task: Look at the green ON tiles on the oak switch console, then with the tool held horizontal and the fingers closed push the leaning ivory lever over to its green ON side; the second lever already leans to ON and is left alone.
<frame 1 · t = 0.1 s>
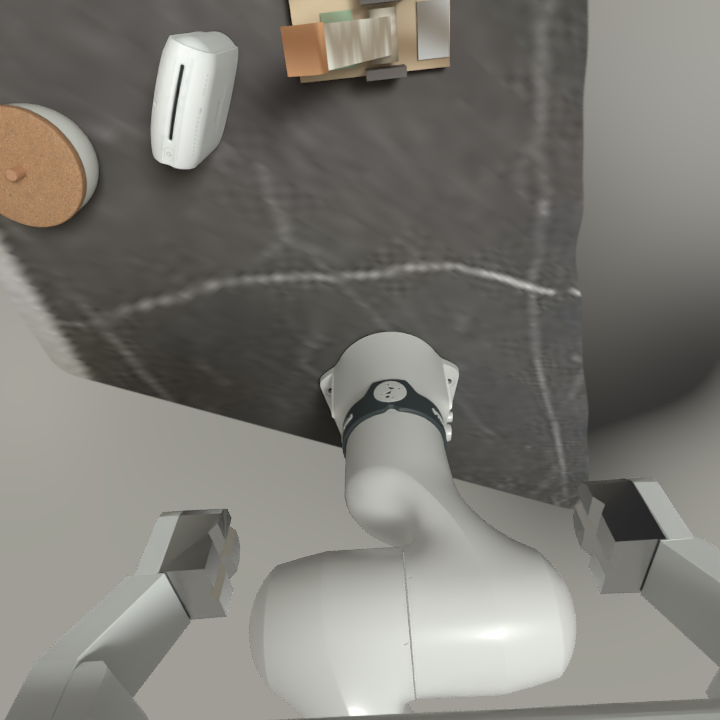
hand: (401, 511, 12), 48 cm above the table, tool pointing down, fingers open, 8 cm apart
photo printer: (212, 91, 50), on the table
lidded jar: (63, 152, 53), on the table
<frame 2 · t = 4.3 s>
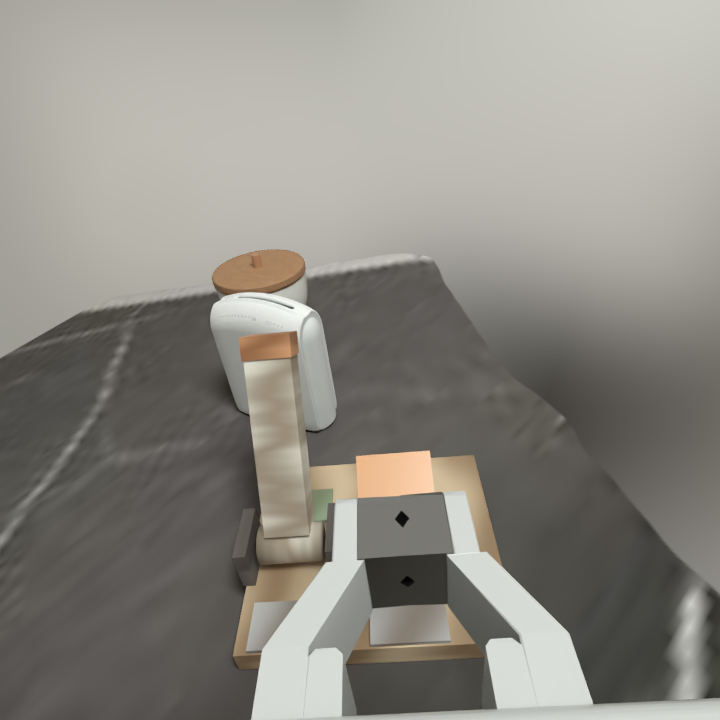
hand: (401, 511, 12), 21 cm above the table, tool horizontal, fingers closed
lever: (399, 518, 26), point 9 cm above the table, hinge at -28.0°
console: (374, 554, 34), on the table
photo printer: (287, 413, 48), on the table
lidded jar: (272, 326, 62), on the table
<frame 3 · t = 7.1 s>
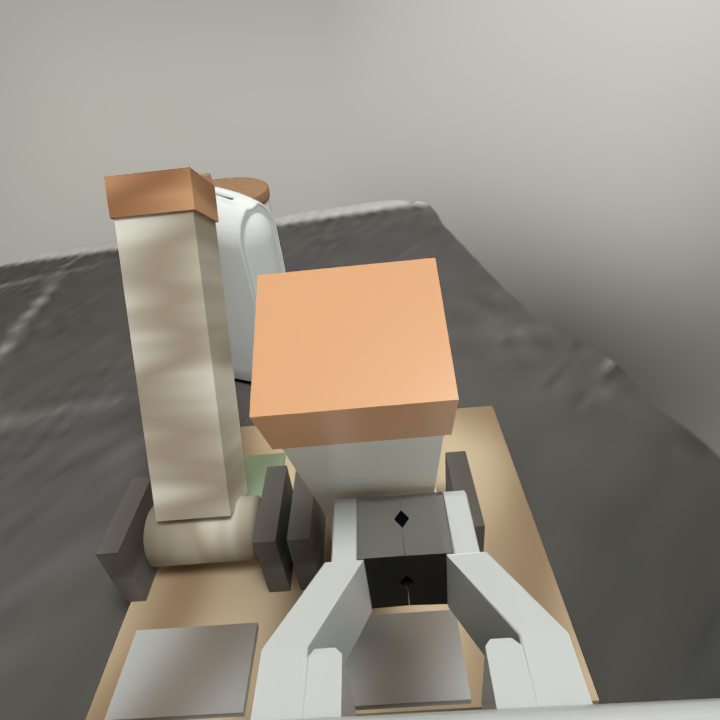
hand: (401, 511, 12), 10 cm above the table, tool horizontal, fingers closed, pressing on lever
lever: (376, 470, 14), point 9 cm above the table, hinge at -26.9°, touching gripper
console: (344, 549, 22), on the table
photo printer: (237, 365, 36), on the table
lidded jar: (230, 273, 50), on the table
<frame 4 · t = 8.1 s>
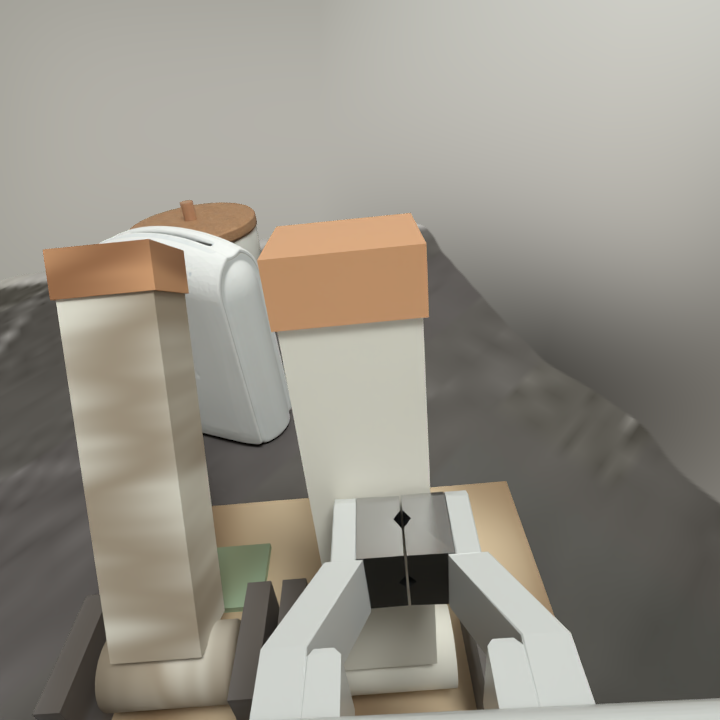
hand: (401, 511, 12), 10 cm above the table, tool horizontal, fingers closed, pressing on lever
lever: (373, 507, 13), point 9 cm above the table, hinge at 5.6°, touching gripper
console: (339, 669, 19), on the table
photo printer: (219, 418, 33), on the table
lidded jar: (215, 304, 47), on the table
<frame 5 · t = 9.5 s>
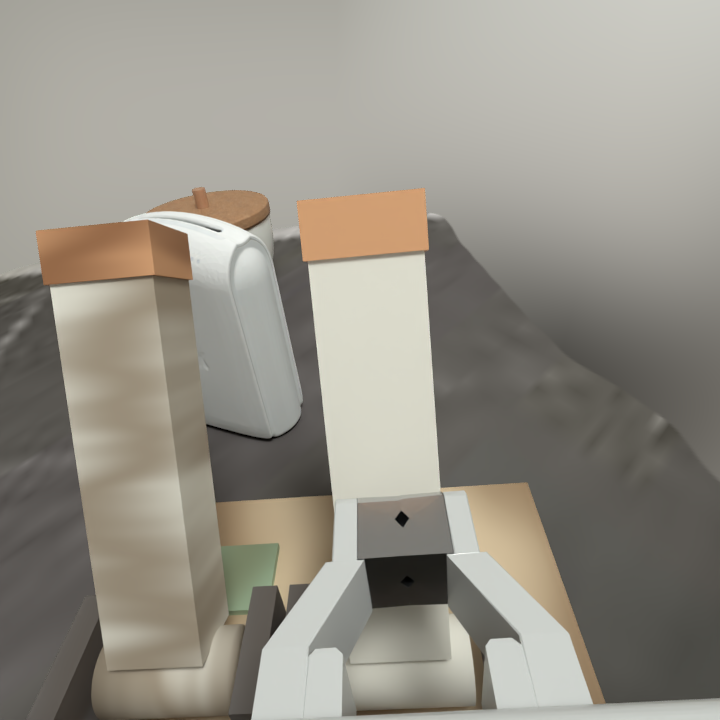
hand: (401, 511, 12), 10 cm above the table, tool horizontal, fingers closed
lever: (385, 469, 14), point 9 cm above the table, hinge at 24.4°
console: (348, 677, 18), on the table
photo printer: (229, 410, 32), on the table
lidded jar: (227, 294, 46), on the table
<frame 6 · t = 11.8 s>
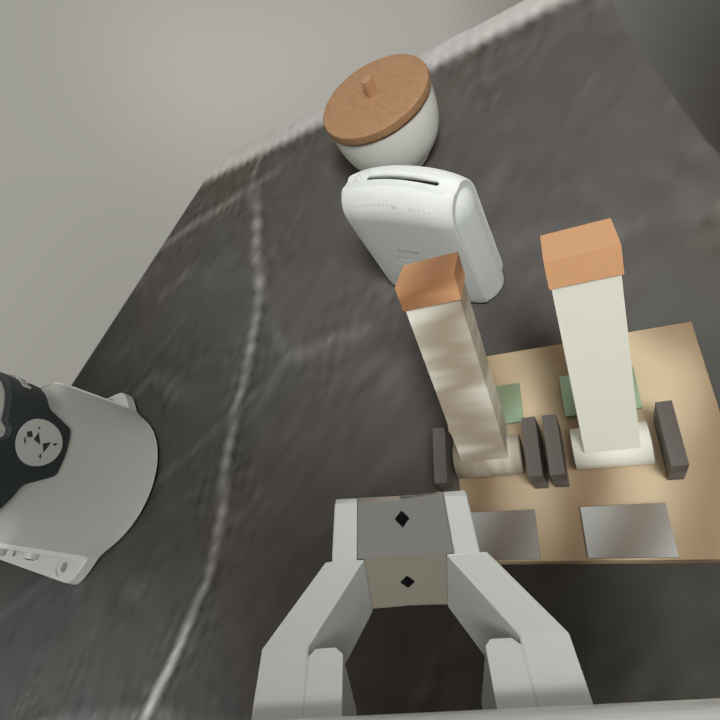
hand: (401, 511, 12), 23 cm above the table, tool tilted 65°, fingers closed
lever: (597, 366, 26), point 9 cm above the table, hinge at 24.4°
console: (575, 448, 33), on the table
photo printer: (446, 280, 44), on the table
lidded jar: (403, 158, 53), on the table
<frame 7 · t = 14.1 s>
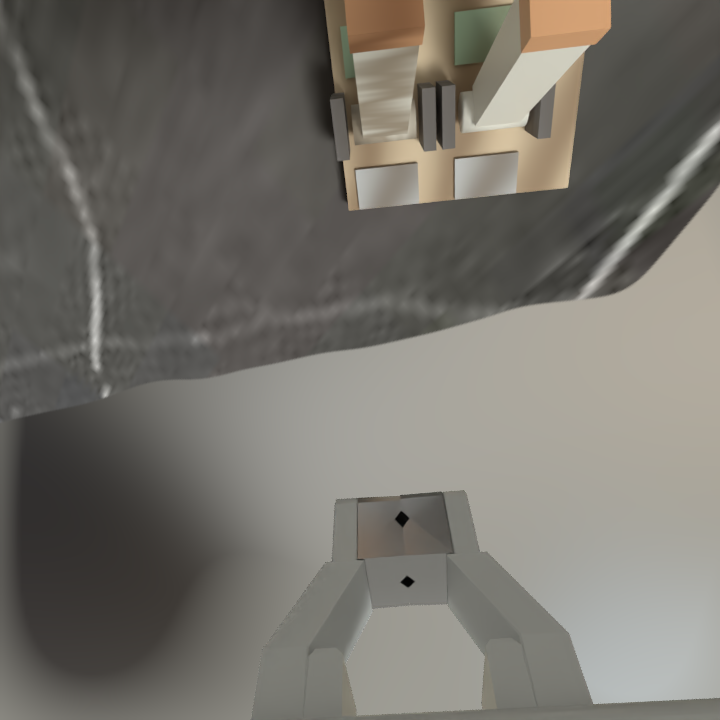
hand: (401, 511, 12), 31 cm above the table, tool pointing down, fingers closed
lever: (518, 71, 26), point 9 cm above the table, hinge at 24.4°
console: (453, 89, 34), on the table
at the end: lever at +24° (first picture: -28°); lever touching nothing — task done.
